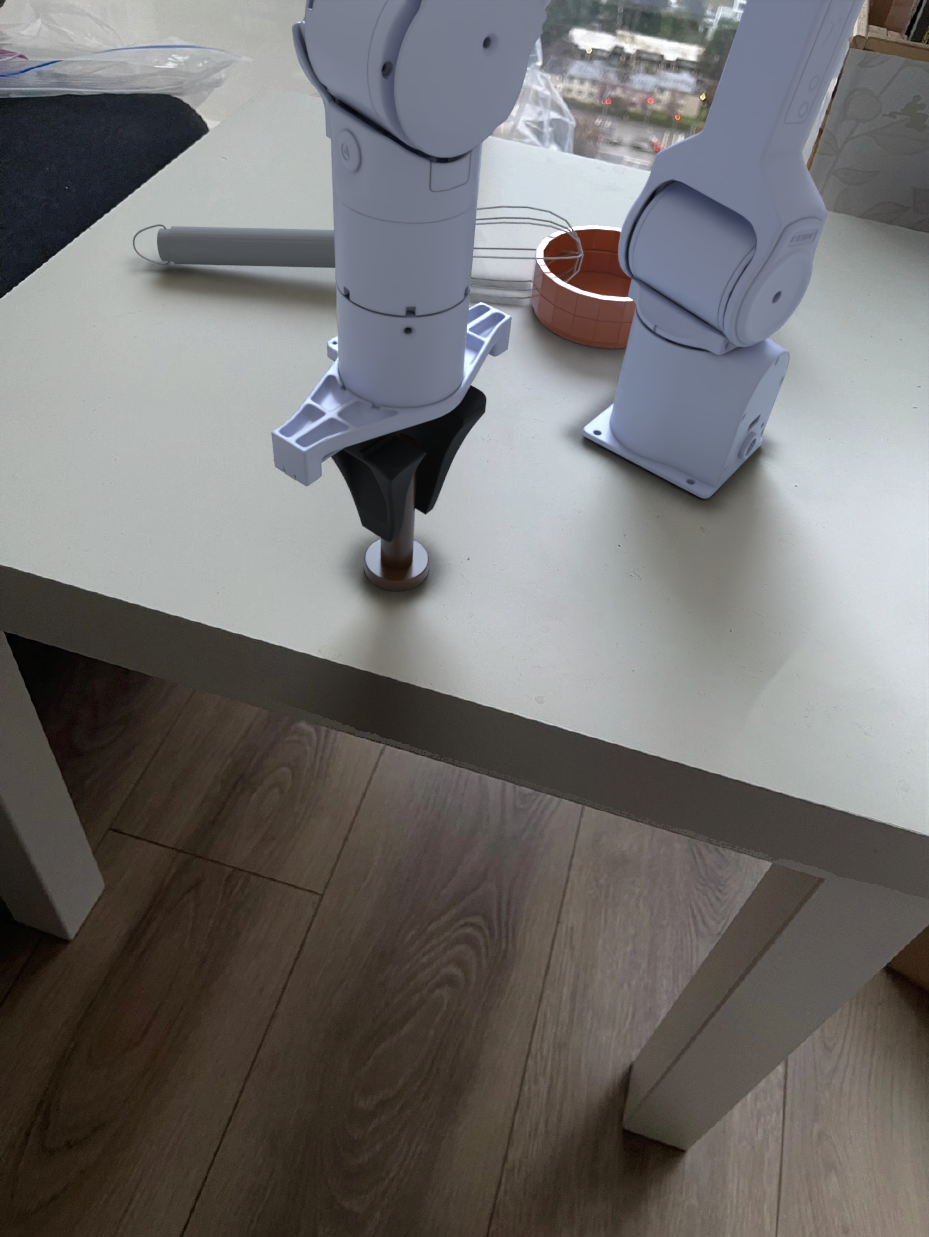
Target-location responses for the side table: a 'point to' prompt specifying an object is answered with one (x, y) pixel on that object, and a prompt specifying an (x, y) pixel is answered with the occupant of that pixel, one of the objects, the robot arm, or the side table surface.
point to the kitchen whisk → (296, 247)
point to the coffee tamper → (399, 550)
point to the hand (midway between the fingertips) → (397, 516)
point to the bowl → (583, 288)
